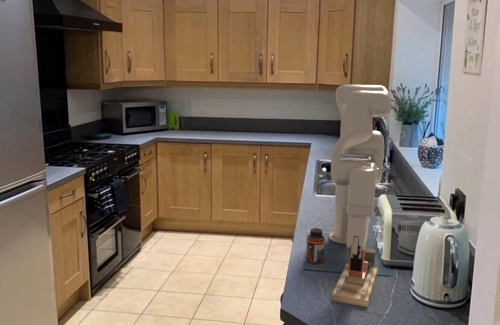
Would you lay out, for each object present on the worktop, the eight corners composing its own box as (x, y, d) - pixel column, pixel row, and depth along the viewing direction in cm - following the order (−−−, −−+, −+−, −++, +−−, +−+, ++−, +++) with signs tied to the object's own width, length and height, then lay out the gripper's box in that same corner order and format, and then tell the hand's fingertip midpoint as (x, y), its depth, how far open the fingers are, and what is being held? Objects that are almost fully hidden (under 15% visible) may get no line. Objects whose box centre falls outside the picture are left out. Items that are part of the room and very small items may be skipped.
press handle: (350, 271, 154) (353, 235, 152) (366, 274, 153) (369, 237, 150) (346, 281, 147) (348, 244, 144) (363, 284, 145) (366, 246, 143)
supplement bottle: (303, 259, 169) (304, 227, 167) (318, 257, 171) (319, 226, 169) (311, 265, 164) (312, 233, 162) (326, 263, 166) (328, 231, 164)
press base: (346, 268, 162) (347, 245, 160) (377, 273, 159) (378, 250, 157) (331, 300, 140) (333, 274, 138) (367, 307, 137) (369, 280, 135)
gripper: (351, 200, 152) (348, 256, 155) (342, 215, 137) (338, 276, 140) (376, 203, 149) (372, 260, 153) (369, 218, 134) (365, 281, 138)
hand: (356, 267), depth 146 cm, fingers closed on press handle, 3 cm apart
